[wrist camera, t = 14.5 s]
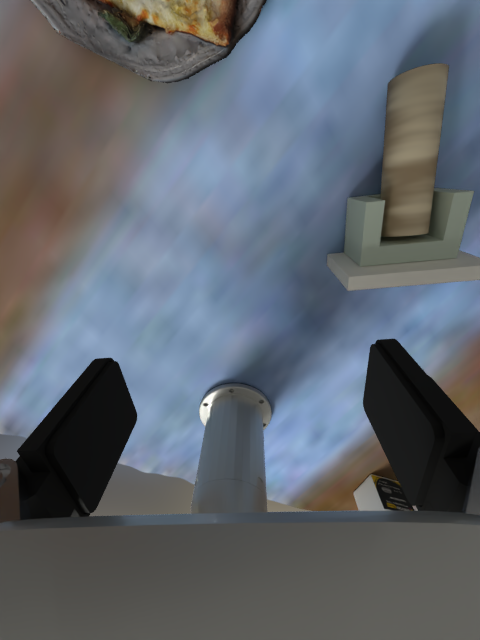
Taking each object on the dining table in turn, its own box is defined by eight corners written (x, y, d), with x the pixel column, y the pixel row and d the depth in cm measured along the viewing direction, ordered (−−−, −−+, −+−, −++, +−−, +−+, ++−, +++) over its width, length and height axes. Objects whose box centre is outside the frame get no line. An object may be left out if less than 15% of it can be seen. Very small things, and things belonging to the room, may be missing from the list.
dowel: (413, 230, 33) (438, 232, 28) (371, 234, 33) (389, 237, 29) (428, 85, 28) (462, 59, 24) (379, 91, 28) (403, 68, 24)
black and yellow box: (401, 481, 57) (435, 551, 47) (381, 499, 61) (409, 569, 50) (370, 472, 57) (398, 542, 46) (352, 492, 60) (374, 561, 49)
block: (425, 244, 35) (456, 257, 30) (343, 252, 36) (360, 266, 30) (437, 187, 32) (474, 191, 27) (347, 197, 33) (366, 202, 28)
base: (438, 255, 36) (491, 278, 28) (326, 265, 37) (347, 290, 29) (440, 243, 35) (496, 264, 27) (327, 254, 36) (348, 277, 28)
